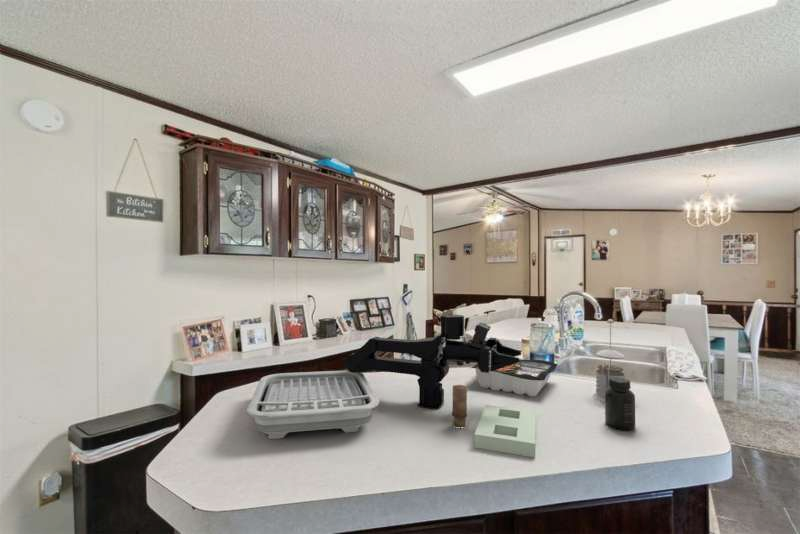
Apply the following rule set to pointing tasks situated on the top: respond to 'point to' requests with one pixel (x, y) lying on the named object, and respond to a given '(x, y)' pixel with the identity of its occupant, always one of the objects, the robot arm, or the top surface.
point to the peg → (459, 405)
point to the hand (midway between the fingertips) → (520, 356)
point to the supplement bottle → (620, 405)
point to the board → (507, 430)
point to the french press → (607, 370)
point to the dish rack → (311, 402)
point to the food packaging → (518, 377)
